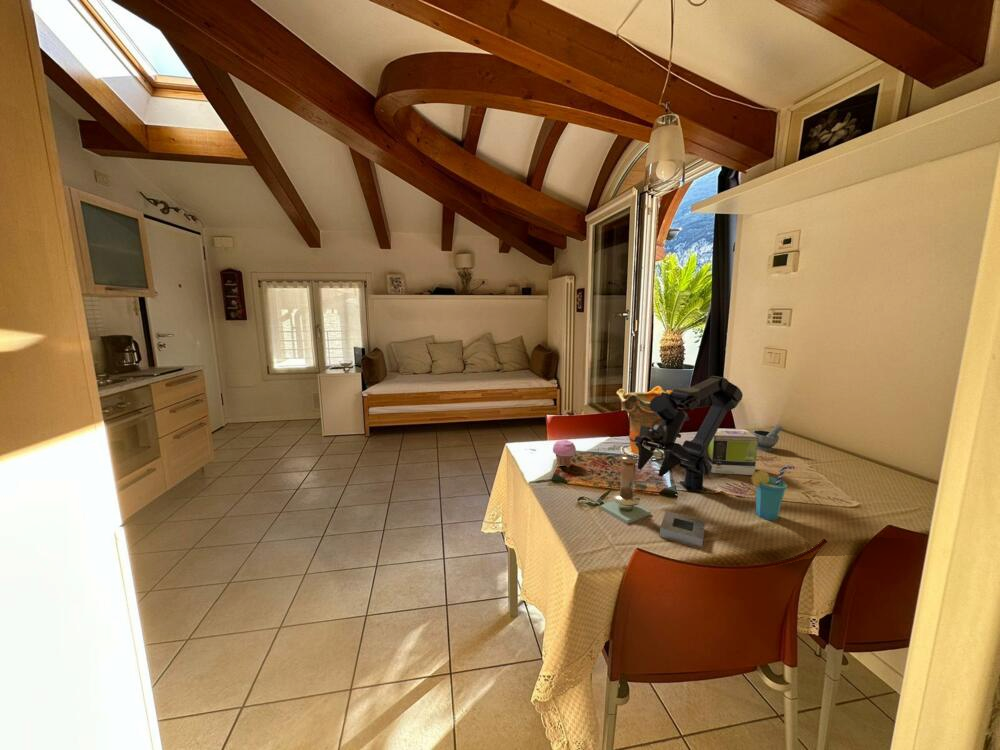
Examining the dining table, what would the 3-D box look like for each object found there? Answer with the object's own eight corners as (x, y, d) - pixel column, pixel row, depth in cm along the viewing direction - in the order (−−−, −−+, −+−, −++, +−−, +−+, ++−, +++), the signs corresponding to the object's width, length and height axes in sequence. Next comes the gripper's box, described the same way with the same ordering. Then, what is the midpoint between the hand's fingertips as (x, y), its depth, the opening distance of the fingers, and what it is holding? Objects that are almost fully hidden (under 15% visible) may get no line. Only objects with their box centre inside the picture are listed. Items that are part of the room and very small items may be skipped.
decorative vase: (602, 446, 172) (609, 382, 168) (645, 443, 181) (652, 382, 176) (634, 464, 153) (643, 392, 149) (681, 460, 162) (690, 392, 157)
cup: (774, 506, 123) (781, 459, 121) (800, 518, 116) (807, 469, 113) (739, 512, 119) (744, 464, 117) (762, 525, 112) (769, 475, 109)
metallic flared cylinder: (615, 499, 123) (618, 451, 121) (641, 506, 120) (645, 455, 117) (609, 510, 117) (612, 459, 114) (636, 517, 113) (640, 464, 110)
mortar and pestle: (745, 447, 175) (748, 420, 173) (758, 443, 179) (761, 417, 177) (772, 455, 165) (776, 427, 163) (785, 452, 170) (789, 424, 168)
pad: (623, 501, 125) (623, 497, 125) (650, 515, 117) (650, 511, 116) (600, 510, 120) (600, 505, 120) (626, 525, 111) (627, 520, 111)
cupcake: (575, 471, 148) (576, 445, 146) (551, 469, 149) (552, 443, 148) (575, 461, 157) (576, 437, 155) (552, 460, 158) (553, 435, 156)
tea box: (742, 465, 155) (746, 428, 152) (754, 476, 145) (759, 437, 142) (700, 463, 157) (704, 426, 154) (710, 473, 147) (714, 434, 144)
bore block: (664, 521, 114) (665, 511, 113) (704, 531, 109) (705, 520, 109) (659, 538, 105) (660, 527, 105) (701, 550, 101) (702, 539, 100)
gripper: (632, 411, 130) (611, 454, 127) (674, 416, 112) (650, 466, 110) (656, 427, 133) (636, 470, 131) (701, 435, 115) (679, 484, 113)
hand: (648, 472), depth 121 cm, fingers open, 9 cm apart
